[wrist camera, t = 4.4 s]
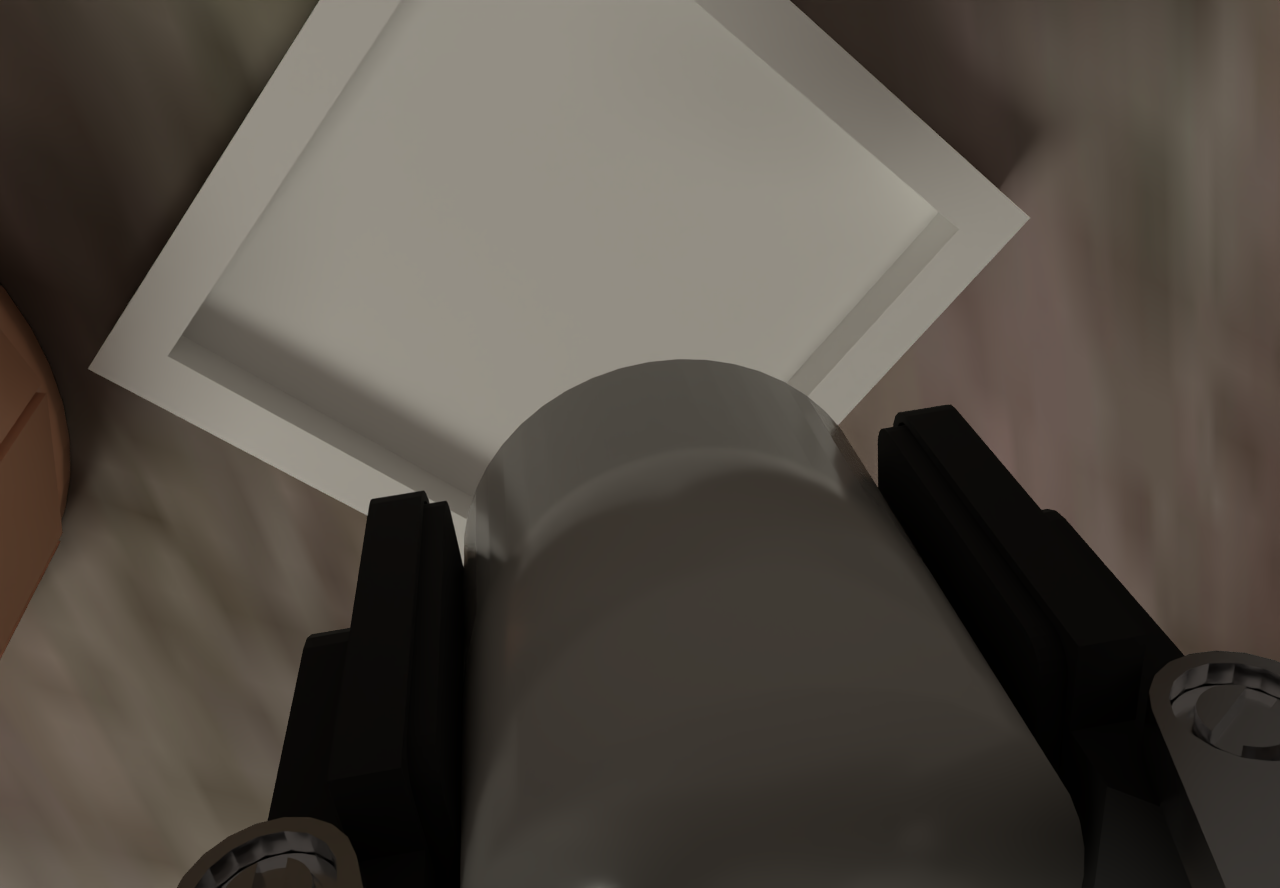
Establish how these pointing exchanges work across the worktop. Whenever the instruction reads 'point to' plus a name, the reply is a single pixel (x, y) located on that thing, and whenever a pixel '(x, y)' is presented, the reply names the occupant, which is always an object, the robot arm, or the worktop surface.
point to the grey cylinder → (726, 662)
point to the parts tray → (542, 230)
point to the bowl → (27, 466)
